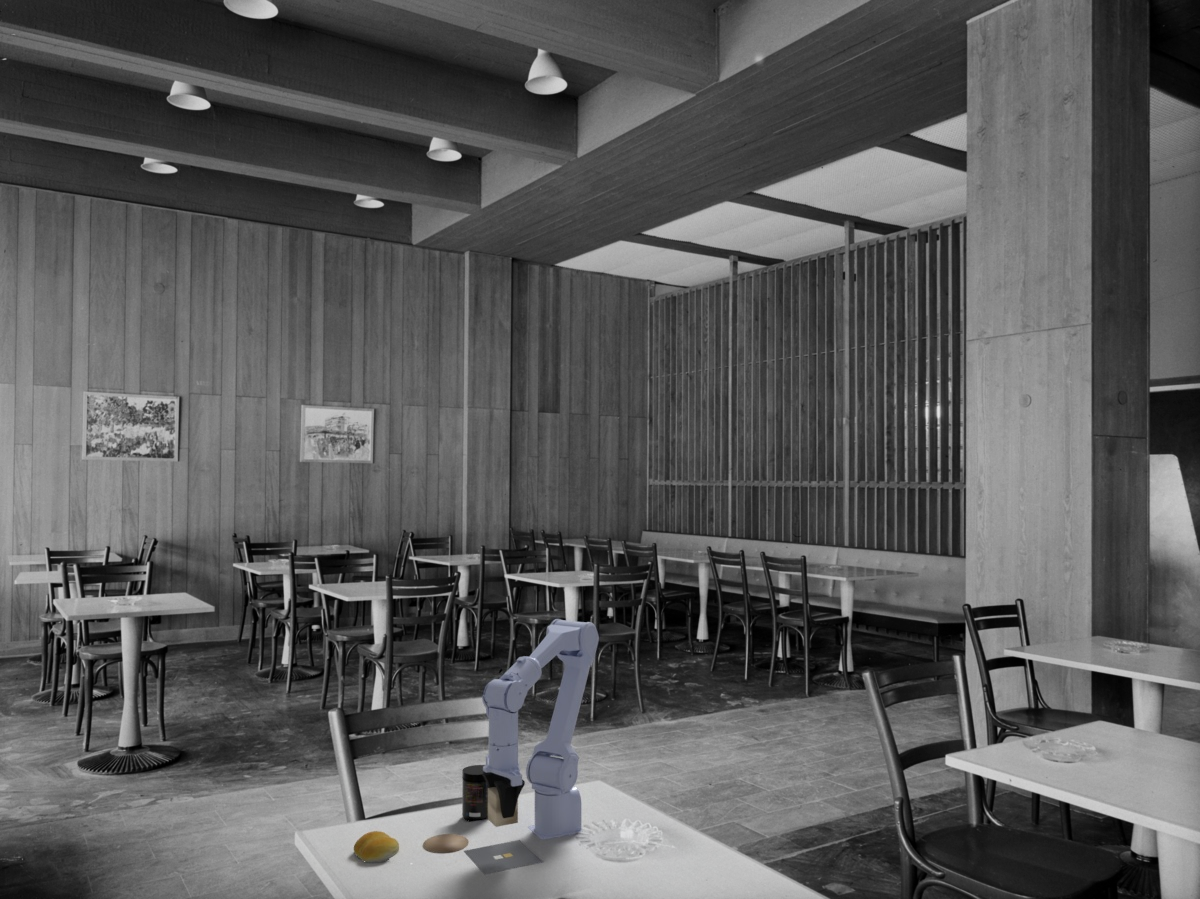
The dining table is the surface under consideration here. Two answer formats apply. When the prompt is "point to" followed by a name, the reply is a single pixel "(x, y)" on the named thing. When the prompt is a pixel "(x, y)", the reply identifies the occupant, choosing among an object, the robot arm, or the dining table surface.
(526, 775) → the robot arm
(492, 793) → the maple block
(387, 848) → the bread roll
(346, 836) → the dining table surface
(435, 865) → the dining table surface
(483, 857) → the tile
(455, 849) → the cork coaster
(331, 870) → the dining table surface
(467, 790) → the supplement container
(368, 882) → the dining table surface
